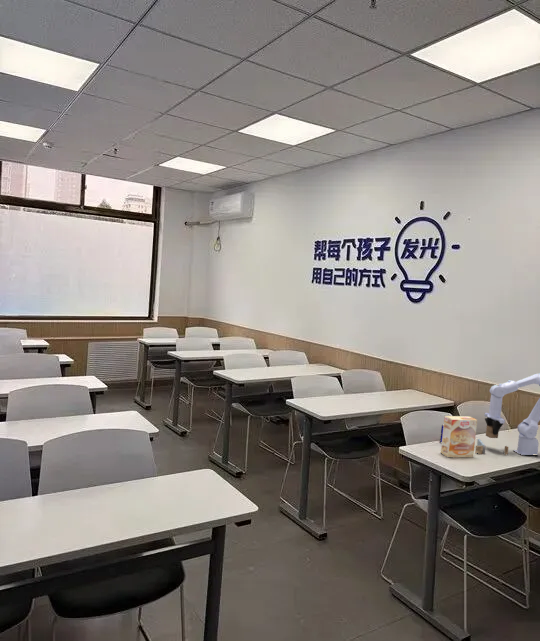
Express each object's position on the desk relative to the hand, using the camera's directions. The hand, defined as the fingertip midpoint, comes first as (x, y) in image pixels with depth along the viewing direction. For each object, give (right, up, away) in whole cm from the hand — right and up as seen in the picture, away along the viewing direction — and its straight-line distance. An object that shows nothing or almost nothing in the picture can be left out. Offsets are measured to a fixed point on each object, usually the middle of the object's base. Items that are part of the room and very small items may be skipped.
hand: (492, 433), depth 275 cm
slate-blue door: (-6, -9, -1) cm, 11 cm away
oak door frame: (-3, -10, -5) cm, 11 cm away
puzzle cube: (-19, -8, +10) cm, 23 cm away
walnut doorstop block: (0, -2, 0) cm, 2 cm away
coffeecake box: (-24, -9, -13) cm, 28 cm away
